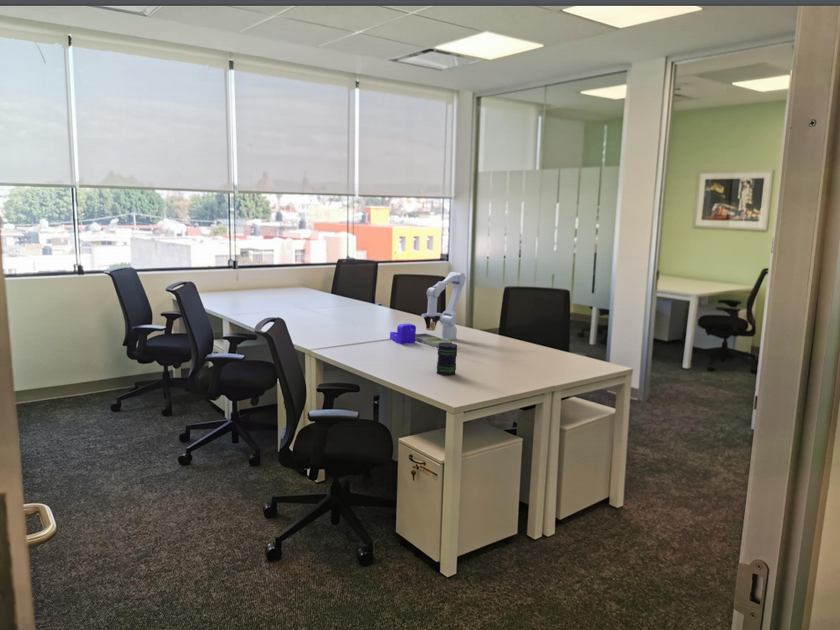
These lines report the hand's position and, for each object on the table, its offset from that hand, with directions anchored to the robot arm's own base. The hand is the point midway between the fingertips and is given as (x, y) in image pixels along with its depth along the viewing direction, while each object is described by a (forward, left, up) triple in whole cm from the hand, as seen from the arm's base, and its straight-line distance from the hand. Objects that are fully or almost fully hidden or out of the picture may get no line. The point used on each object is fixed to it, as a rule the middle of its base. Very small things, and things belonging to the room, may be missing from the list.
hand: (430, 328), depth 395 cm
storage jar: (+42, +66, -9) cm, 79 cm away
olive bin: (0, +7, -9) cm, 11 cm away
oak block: (0, 0, -1) cm, 1 cm away
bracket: (+17, -10, -9) cm, 22 cm away
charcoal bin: (0, -7, -9) cm, 11 cm away
